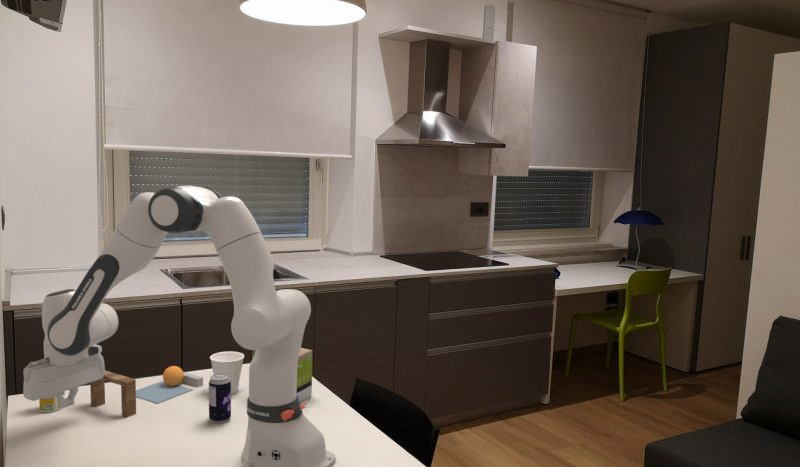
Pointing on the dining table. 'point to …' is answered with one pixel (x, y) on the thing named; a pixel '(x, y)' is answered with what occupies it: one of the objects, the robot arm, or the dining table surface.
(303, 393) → the tea box
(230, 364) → the cup
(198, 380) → the grey rectangular bar
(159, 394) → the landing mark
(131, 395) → the bridge
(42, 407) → the supplement bottle
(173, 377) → the ball
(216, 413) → the beverage can
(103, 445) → the dining table surface
